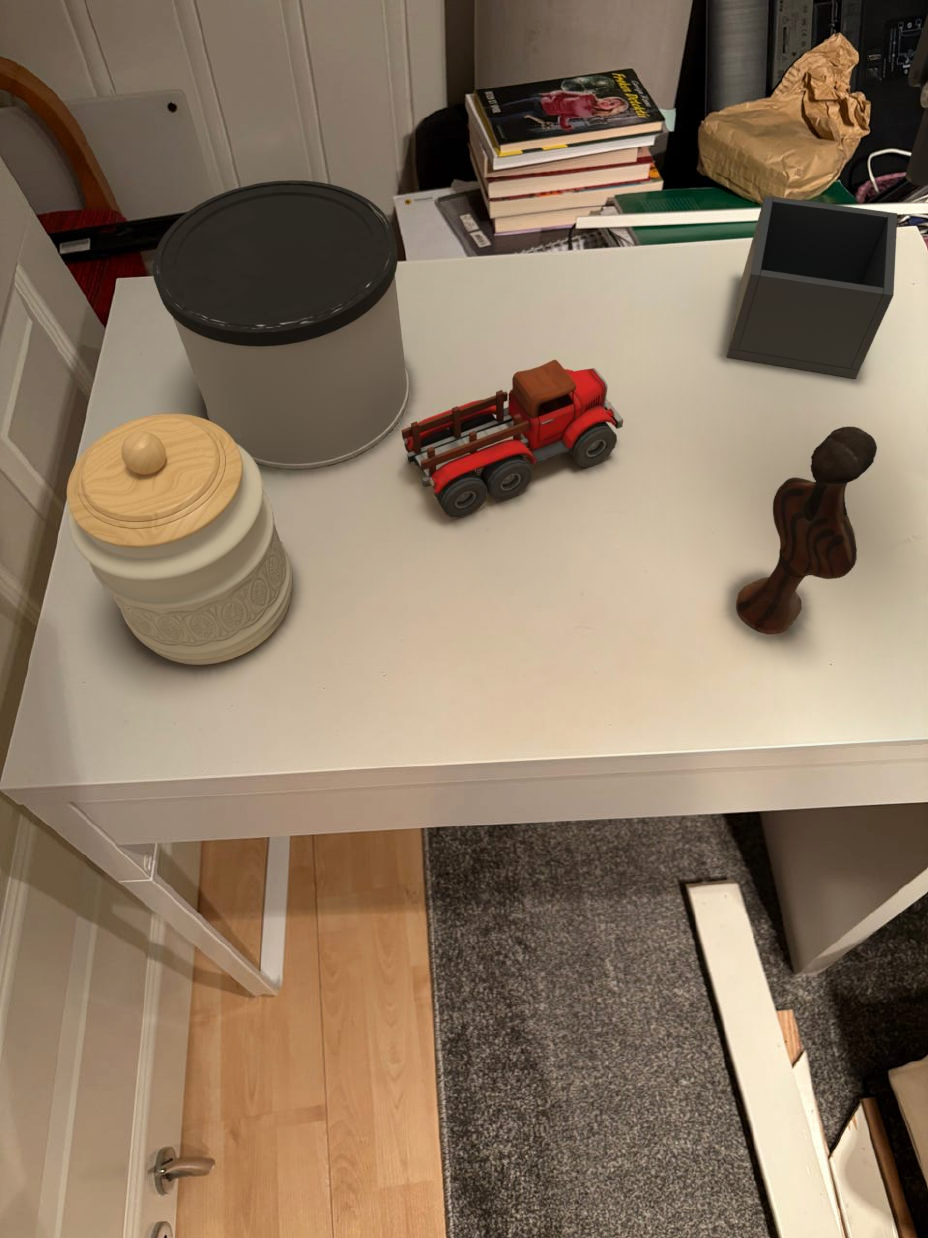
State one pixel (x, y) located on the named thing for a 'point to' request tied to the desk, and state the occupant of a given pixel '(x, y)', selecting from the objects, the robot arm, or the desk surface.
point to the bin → (814, 286)
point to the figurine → (810, 530)
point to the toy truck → (512, 436)
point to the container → (289, 318)
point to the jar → (181, 537)
